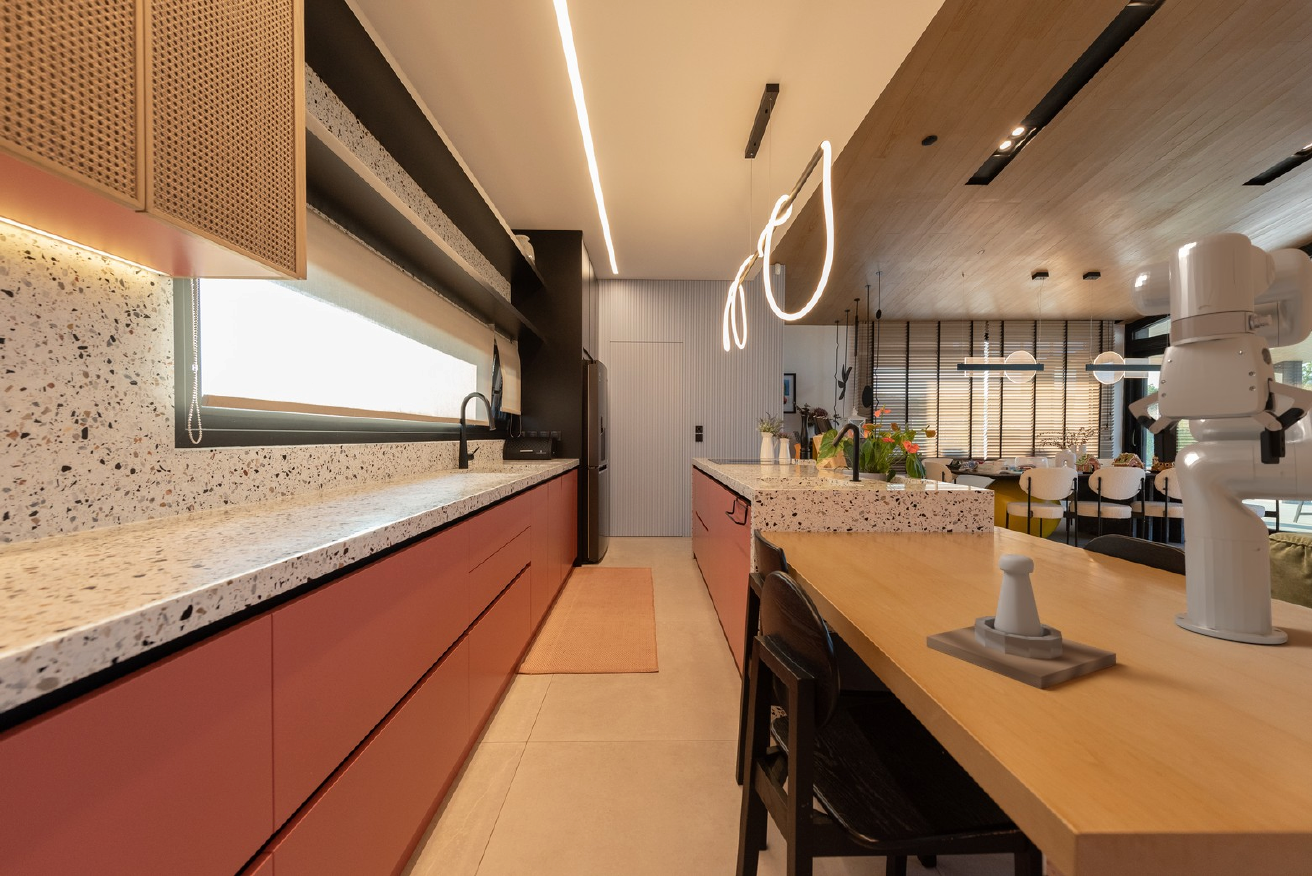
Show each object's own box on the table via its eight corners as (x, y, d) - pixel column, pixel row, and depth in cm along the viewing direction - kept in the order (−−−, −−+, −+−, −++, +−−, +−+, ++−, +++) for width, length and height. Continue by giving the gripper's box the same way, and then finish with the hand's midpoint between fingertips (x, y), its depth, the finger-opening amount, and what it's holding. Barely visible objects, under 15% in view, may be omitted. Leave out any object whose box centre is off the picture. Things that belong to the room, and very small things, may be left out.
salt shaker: (1050, 653, 73) (1048, 560, 73) (1005, 650, 74) (1003, 558, 74) (1029, 638, 79) (1027, 552, 79) (987, 636, 80) (986, 551, 80)
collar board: (999, 629, 87) (998, 605, 88) (1116, 664, 73) (1115, 635, 73) (926, 646, 80) (926, 619, 80) (1041, 689, 65) (1040, 656, 65)
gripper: (1326, 320, 62) (1331, 464, 62) (1141, 347, 78) (1145, 462, 77) (1302, 313, 59) (1308, 465, 58) (1115, 342, 75) (1118, 462, 74)
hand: (1215, 463), depth 68 cm, fingers open, 9 cm apart
